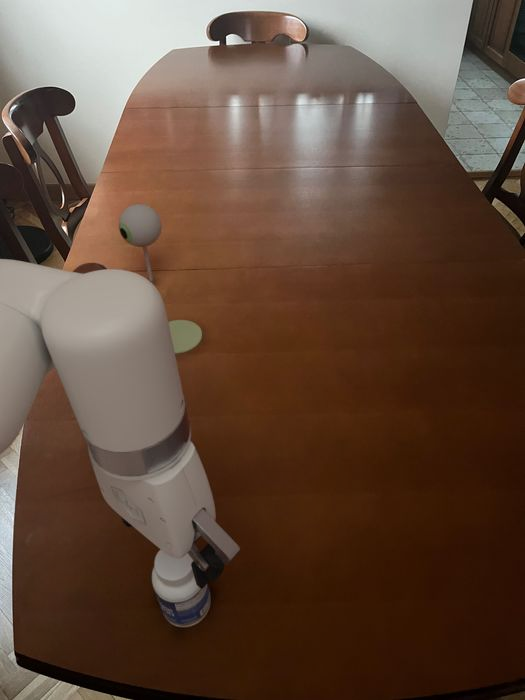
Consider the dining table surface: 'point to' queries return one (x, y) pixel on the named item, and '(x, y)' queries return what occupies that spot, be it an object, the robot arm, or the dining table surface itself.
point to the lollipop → (140, 228)
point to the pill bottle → (179, 590)
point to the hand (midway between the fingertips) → (173, 543)
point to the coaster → (184, 335)
